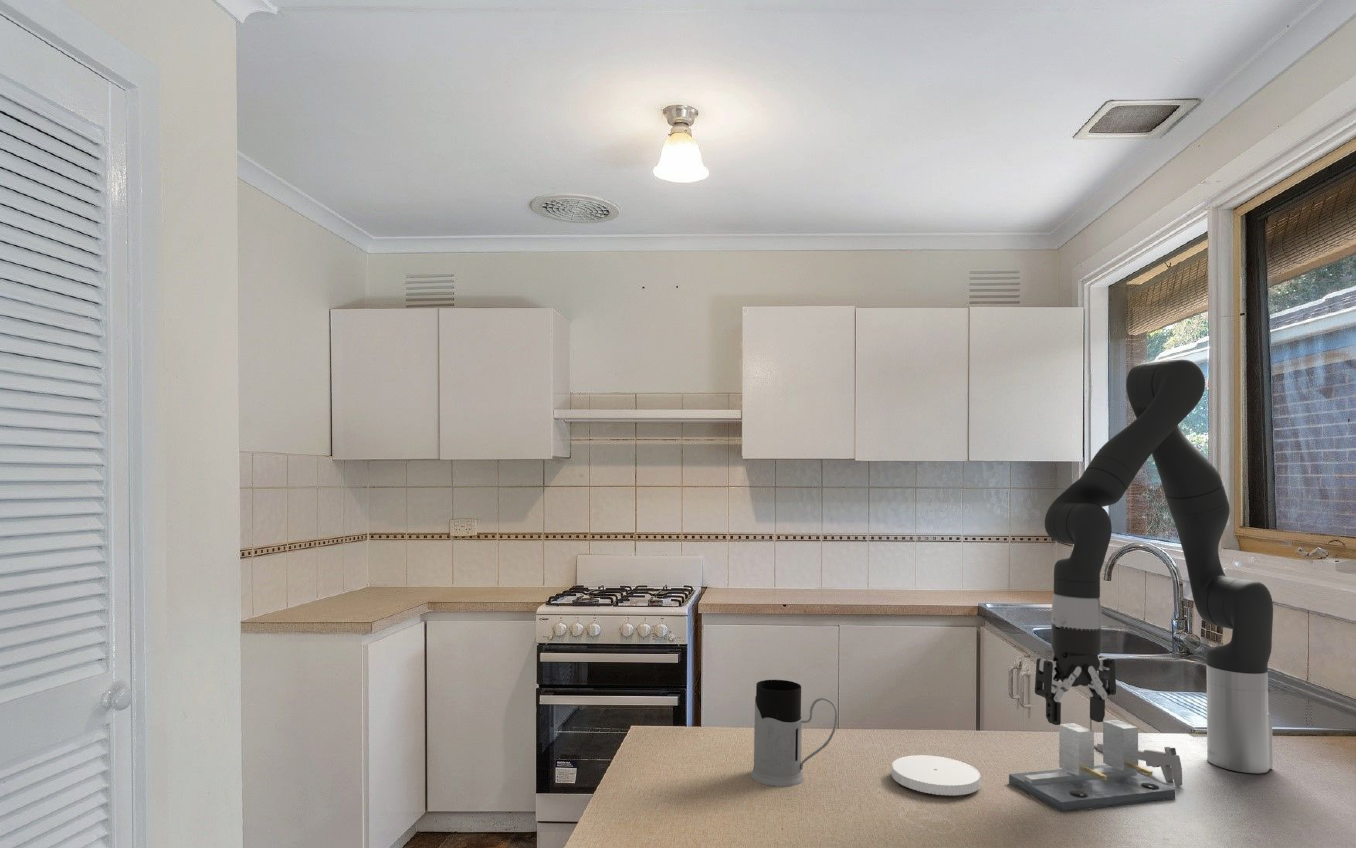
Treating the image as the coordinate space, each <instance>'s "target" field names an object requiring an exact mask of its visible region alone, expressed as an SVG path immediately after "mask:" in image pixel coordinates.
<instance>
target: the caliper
mask: <svg viewBox="0 0 1356 848" xmlns="http://www.w3.org/2000/svg"><path fill="white" fill-rule="evenodd" d="M1094 749H1097V750H1098V751H1100V752H1101V753H1103V742H1099V743H1096V745H1095V744H1094ZM1138 761H1143V762H1145V765H1146V766H1147V767H1152V768H1160V769H1161V772H1162V774H1163V777H1164V780H1165V782H1166V783H1167V784H1168V785H1170V784H1173V785H1174V787H1182V785H1183V767H1182V762H1181V758H1180V755H1178V754H1177V750H1176V747H1170V746H1164V751H1159V750H1153V749H1143V750H1140V749H1138Z"/></svg>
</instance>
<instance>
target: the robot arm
mask: <svg viewBox="0 0 1356 848" xmlns="http://www.w3.org/2000/svg"><path fill="white" fill-rule="evenodd" d="M1125 381H1126V383H1125V388H1126V393H1127V398H1128V400H1129V401H1128V402H1129V405H1130V407H1131V409H1132V411H1133V413H1134V416H1135V418H1136V419H1135V420H1133V421H1132V422H1131V423H1130V424H1128V425H1127V426H1126V427H1125V428H1122V430H1120V431H1119V432H1118V433H1117V434H1115V435H1114V436H1113V437H1111V438H1110V439H1109V440H1108V441H1107V442H1105V443H1104V444H1103V445H1102V447H1101V448H1099V450H1098V451H1097V453H1095V455H1094V457H1093V458H1092V460H1091V461H1090V463H1089V464H1088V465H1087V467H1086V468H1085V470H1084V471H1083V473H1082V475H1081V476H1080V477H1079V478H1078V479H1077V480H1076V481H1074V482H1073V483H1072V484H1071V485H1069V487H1067V488H1066V489H1065V490H1064V491H1063V492H1062V493H1061V494H1060V495H1059V496H1058V497H1056V499H1055V500H1054V501H1052V503H1051V504H1050V506H1049V508H1048V509H1047V510H1046V513H1045V517H1044V529H1045V532H1046V534H1047V535H1048V537H1049V538H1051V540H1053V541H1055V542H1057V543H1059V544H1066V545H1067V544H1069V545H1073V548H1072V550H1071V553H1070V556H1069V558H1068V557H1067V558H1062V559H1059V560H1057V561H1056V562H1055V564H1054V567H1053V597H1052V603H1051V638H1050V640H1051V643H1050V646H1051V649H1052V650H1053V658H1052V659H1045V658H1041V657H1038V658H1037V659H1036V663H1035V678H1034V679H1035V680H1034V681H1035V683H1034V693H1035V694H1036V695H1037V696H1040V697H1042V698H1044V699H1045V717H1046V719H1047V722H1048V723H1049V724H1051V725H1054V726H1059V725H1060V724H1062V721H1061V720H1062V718H1061V717H1062V702H1061V701H1060V700H1061V699H1062V697H1063V696H1064V694H1065V692H1069V690H1070V688H1072V687H1073V688H1074V687H1075V688H1076V687H1078V686H1082V687H1086V688H1087V690H1088V692H1089V693H1090V695H1091V696H1090V697H1089V717H1090V720H1092V721H1093V722H1096V723H1103V721H1104V719H1105V717H1106V700H1107V698H1108V697H1109V696H1114V695H1116V693H1117V681H1116V680H1117V679H1116V661H1115V659H1113V658H1111V657H1106V656H1103V655H1101V653H1102V629H1103V628H1102V627H1103V626H1102V625H1103V623H1102V618H1103V617H1102V605H1101V571H1102V569H1103V566H1104V563H1105V559H1106V555H1107V552H1108V548H1109V545H1110V543H1111V539H1112V530H1113V529H1112V528H1113V527H1112V521H1111V517H1110V516H1109V514H1108V512H1107V511H1106V509H1105V508H1104V507H1108V506H1112V505H1115V504H1117V503H1119V501H1120V500H1121V499H1122V498H1123V496H1124V494H1125V493H1126V492H1127V490H1128V488H1129V487H1130V485H1131V484H1132V482H1133V481H1134V479H1135V477H1136V476H1137V474H1138V473H1139V472H1140V470H1141V468H1142V467H1143V466H1144V464H1145V463H1146V462H1147V460H1148V459H1149V458H1150V456H1152V459H1153V461H1154V465H1155V466H1156V469H1157V473H1158V475H1159V478H1160V482H1161V485H1162V486H1161V487H1162V489H1163V493H1164V496H1165V497H1164V498H1165V500H1166V502H1167V506H1168V509H1169V512H1170V514H1171V517H1172V519H1173V522H1174V523H1173V524H1174V525H1175V528H1176V532H1177V536H1178V538H1179V543H1180V545H1181V550H1182V552H1183V555H1184V561H1185V565H1186V569H1187V570H1186V571H1187V575H1188V580H1189V585H1190V590H1191V595H1192V599H1193V602H1194V607H1195V609H1196V611H1197V613H1198V615H1199V617H1200V619H1202V620H1203V621H1204V622H1206V623H1207V624H1209V625H1212V626H1216V627H1218V628H1219V627H1220V628H1224V629H1230V630H1232V633H1231V638H1230V641H1229V642H1228V643H1226V644H1224V645H1216V646H1211V647H1210V648H1208V649H1207V651H1206V658H1205V659H1206V733H1207V734H1206V740H1207V741H1206V745H1207V747H1206V748H1207V750H1206V753H1207V754H1206V755H1207V761H1208V762H1209V763H1211V764H1212V765H1214V766H1217V767H1218V768H1222V769H1226V770H1230V771H1235V772H1239V773H1245V774H1264V773H1267V772H1269V771H1270V769H1273V768H1274V766H1273V763H1274V760H1273V759H1274V757H1273V755H1274V754H1273V750H1274V749H1273V715H1272V714H1271V713H1270V712H1269V682H1268V681H1269V679H1268V678H1269V677H1268V675H1269V673H1268V667H1269V660H1270V658H1271V653H1272V644H1273V643H1272V642H1273V627H1274V626H1273V625H1274V624H1273V622H1274V619H1273V618H1274V605H1273V599H1272V595H1271V592H1270V590H1269V588H1268V587H1267V586H1266V585H1265V584H1264V583H1263V582H1260V581H1258V580H1253V579H1244V578H1237V577H1230V576H1227V575H1226V574H1225V573H1224V569H1223V567H1222V563H1221V560H1220V555H1219V546H1220V541H1221V538H1222V537H1223V534H1224V532H1225V529H1226V527H1227V523H1228V520H1229V518H1230V517H1229V516H1230V513H1231V512H1230V511H1231V509H1230V503H1229V500H1228V496H1227V492H1226V489H1225V486H1224V483H1223V480H1222V478H1221V475H1220V473H1219V471H1218V470H1217V468H1216V467H1215V466H1214V465H1213V463H1212V462H1211V461H1210V460H1209V458H1207V457H1206V456H1205V455H1204V454H1203V453H1202V452H1201V451H1200V450H1199V449H1198V448H1197V447H1196V446H1195V444H1193V443H1192V442H1191V441H1190V440H1189V439H1188V438H1187V436H1186V435H1185V434H1184V433H1183V431H1182V430H1181V427H1180V426H1179V424H1181V423H1182V422H1183V420H1185V418H1186V417H1187V416H1189V414H1190V413H1191V412H1192V411H1193V410H1194V409H1195V408H1196V407H1197V405H1198V404H1199V402H1200V401H1201V400H1202V397H1203V396H1204V393H1205V388H1206V378H1205V374H1204V371H1203V370H1202V368H1201V367H1200V366H1199V365H1198V364H1197V363H1196V362H1195V361H1192V360H1190V359H1187V358H1186V359H1185V358H1172V359H1165V360H1157V361H1156V360H1155V361H1147V362H1143V363H1138V364H1136V365H1134V366H1133V367H1131V369H1130V370H1129V371H1128V374H1127V377H1126V380H1125ZM1097 672H1098V674H1097ZM1060 681H1061V682H1060Z"/></svg>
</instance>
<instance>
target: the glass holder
mask: <svg viewBox="0 0 1356 848" xmlns="http://www.w3.org/2000/svg"><path fill="white" fill-rule="evenodd" d="M755 685H756V686H755V687H756V688H755V697H754V727H753V728H754V731H753V732H754V733H753V734H754V735H753V736H754V737H753V740H754V741H753V742H754V743H753V767H752V771H751V773H750V777H751V779H752V780H754V781H755V782H757V783H759V784H762V785H767V786H771V787H780V788H781V787H792V786H797V785H800V784H801V783H803V781H804V779H805V778H804V774H803V773H802V770H803V767H804V764H805V763H807V761H808V760H809V759H811V758H813V757H814V756H815V755H817V754H818V753H819V752H821V751H822V750H823V749H825V748H826V746H828V745H829V743H830V742H831V740H832V738H833V736H834V734H835V732H836V730H837V725H838V709H837V705H836V703H835V702H833V701H832V700H831V699H830V698H828V697H818V698H816V699H814V701H813V702H812V704H811V706H810V709H809V719H803V717H802V685H801V684H799V683H798V682H795V681H791V680H787V679H786V680H785V679H784V680H783V679H765V680H760V681H758V682H756V683H755ZM819 701H825V702H828V703H830V705H832V706H833V709H834V725H833V728H832V731H831V733H830V735H829V737H828V739H827V740H826V741H825V742H824V743H823V744H822V745H821V746H820V747H819V748H817V749H816V750H815V751H814V752H811V753H810V754H809V755H808V756H806V757H805V758H804V759H803V760H802V738H803V737H802V734H803V732H802V730H803V729H802V728H803V727H802V725H803V723H804V724H806V723H810V722H811V720H812V719H813V713H814V708H815V705H816V704H817V703H818V702H819Z"/></svg>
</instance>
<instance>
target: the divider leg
mask: <svg viewBox="0 0 1356 848" xmlns="http://www.w3.org/2000/svg"><path fill="white" fill-rule="evenodd" d="M1058 728H1059V729H1058V730H1059V731H1058V733H1059V734H1058V742H1059V743H1058V744H1059V746H1058V751H1059V752H1058V753H1059V755H1058V757H1059V759H1058V763H1059V764H1058V766H1059V769H1064V770H1066V771H1069V772H1071V773H1073V774H1075V775H1077V776H1089V775H1094V776H1096V777H1098V778H1100V779H1102V780H1107V776H1106V775H1104V774H1101V773H1099V772H1097V771H1095V770H1094V766H1095V748H1094V745H1095V731H1094V730H1093V729H1090V728H1087V727H1084V726H1083V725H1080V724H1077V723H1074V722H1070V723H1061V724H1060V725H1058Z"/></svg>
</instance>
